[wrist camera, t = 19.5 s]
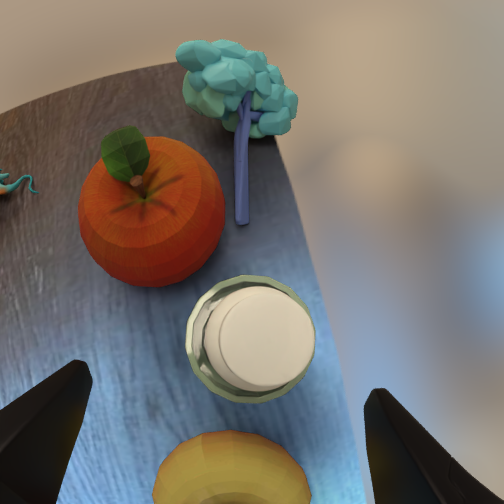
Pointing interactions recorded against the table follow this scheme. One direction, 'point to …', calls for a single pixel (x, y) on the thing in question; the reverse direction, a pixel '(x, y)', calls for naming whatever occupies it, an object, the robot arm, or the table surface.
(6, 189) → the dragon figurine
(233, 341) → the pill bottle
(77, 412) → the robot arm
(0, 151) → the table surface
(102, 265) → the fruit
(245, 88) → the toy tree
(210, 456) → the apple
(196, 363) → the green faceted cup
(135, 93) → the table surface
